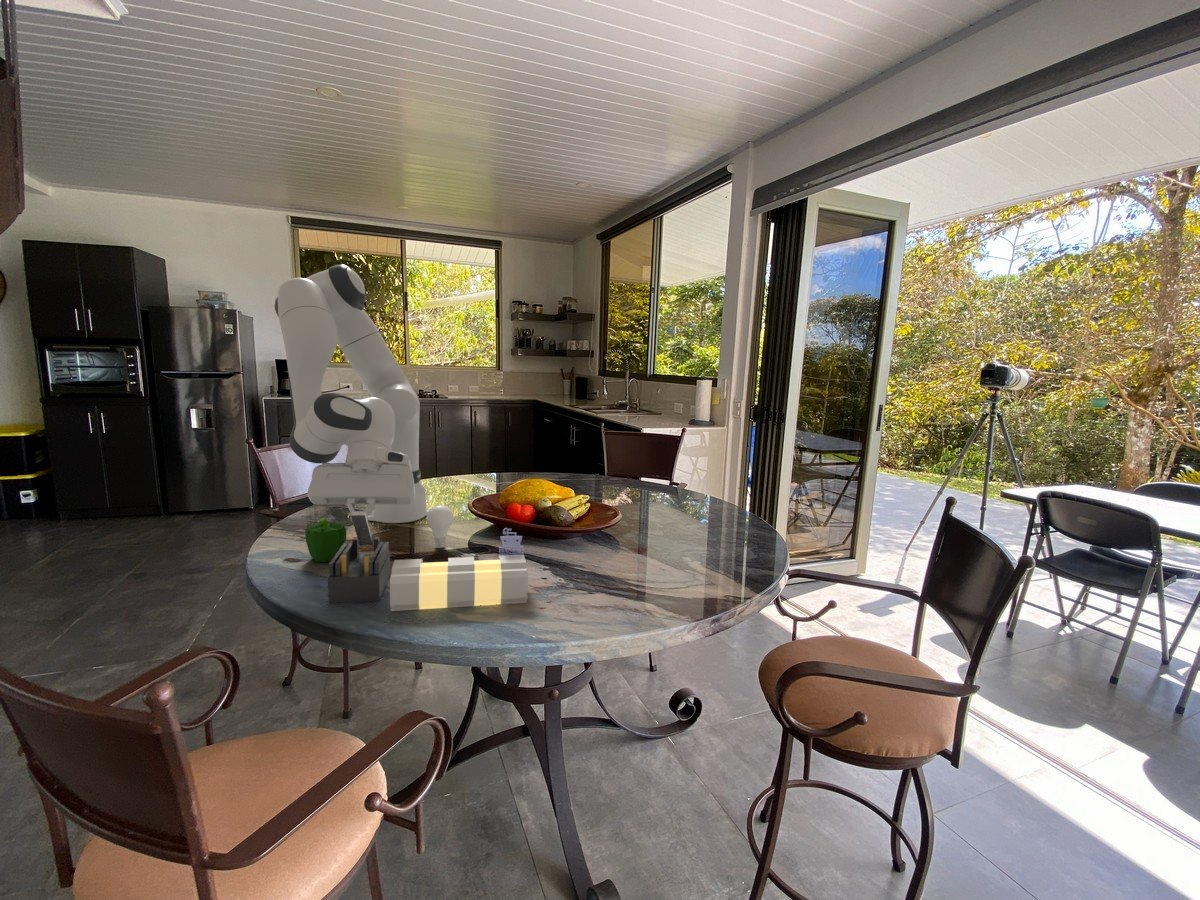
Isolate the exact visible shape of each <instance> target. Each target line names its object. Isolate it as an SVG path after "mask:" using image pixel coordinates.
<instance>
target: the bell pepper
mask: <svg viewBox="0 0 1200 900" xmlns="http://www.w3.org/2000/svg"><path fill="white" fill-rule="evenodd" d="M304 532H305V542H306V546H307V549H308V552H309V556H310V557H311V558H312V559H313V560H315V561H316V562H318V563H326V562H328V563H330V562H331V560H332V559H333V557H334V556H335V555H336V553H337V552H338V551H339V549H340V548H341V547H342V545H343V544H344V543H347V528H346V526H345V524H342V523H340V522H339V521H333V522H330V523H328V520H327V518H325V517H322V518H320V519H319V521H316V522H315V523H313V524H312V525H308V526H306V528H305V531H304Z"/></svg>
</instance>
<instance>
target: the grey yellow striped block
mask: <svg viewBox="0 0 1200 900" xmlns="http://www.w3.org/2000/svg"><path fill="white" fill-rule="evenodd" d="M509 531H510V532H509ZM511 531H512V529H511V528H508V527H505V528H504V529H503V530H502V534H503V536H502V535H500V537H499V538H500V541H501V544H502V546H498V548H499V549H498V550H499V551H498V552H499V555H498V557H497V559H485V560H483V559H482V560H475V557H474V556H469V557H468V556H465V557H464V556H463V557H448V558H447V560H448V561H435V562H434V561H433V562H424V560H423V559H422V558H417V559H394V561H393V564H392V566H391V573H390V578H389V579H390V580H389V607H390V611H391V612H399V611H414V610H415V611H416V610H417V611H418V610H429V609H430V610H431V609H444V608H445V609H446V608H449V609H450V608H460V607H461V608H463V607H464V608H465V607H477V606H480V605H481V606H492V605H493V606H495V605H496V604H497V605H511V604H525V603H527V600H528V588H529V587H528V584H529V583H528V582H529V581H528V579H529V577H528V576H529V575H528V573H529V572H528V569H527V561H526V557H525V554H524V549H522V548H524V545H521V542H522V540H523V535H517V532H511ZM509 534H513V535H509ZM504 548H505V549H504ZM518 548H519V554H518ZM507 549H509V551H510V552H508V550H507ZM512 550H514V551H512ZM521 551H522V552H521ZM505 552H506V553H505ZM511 552H512V553H511Z"/></svg>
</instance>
